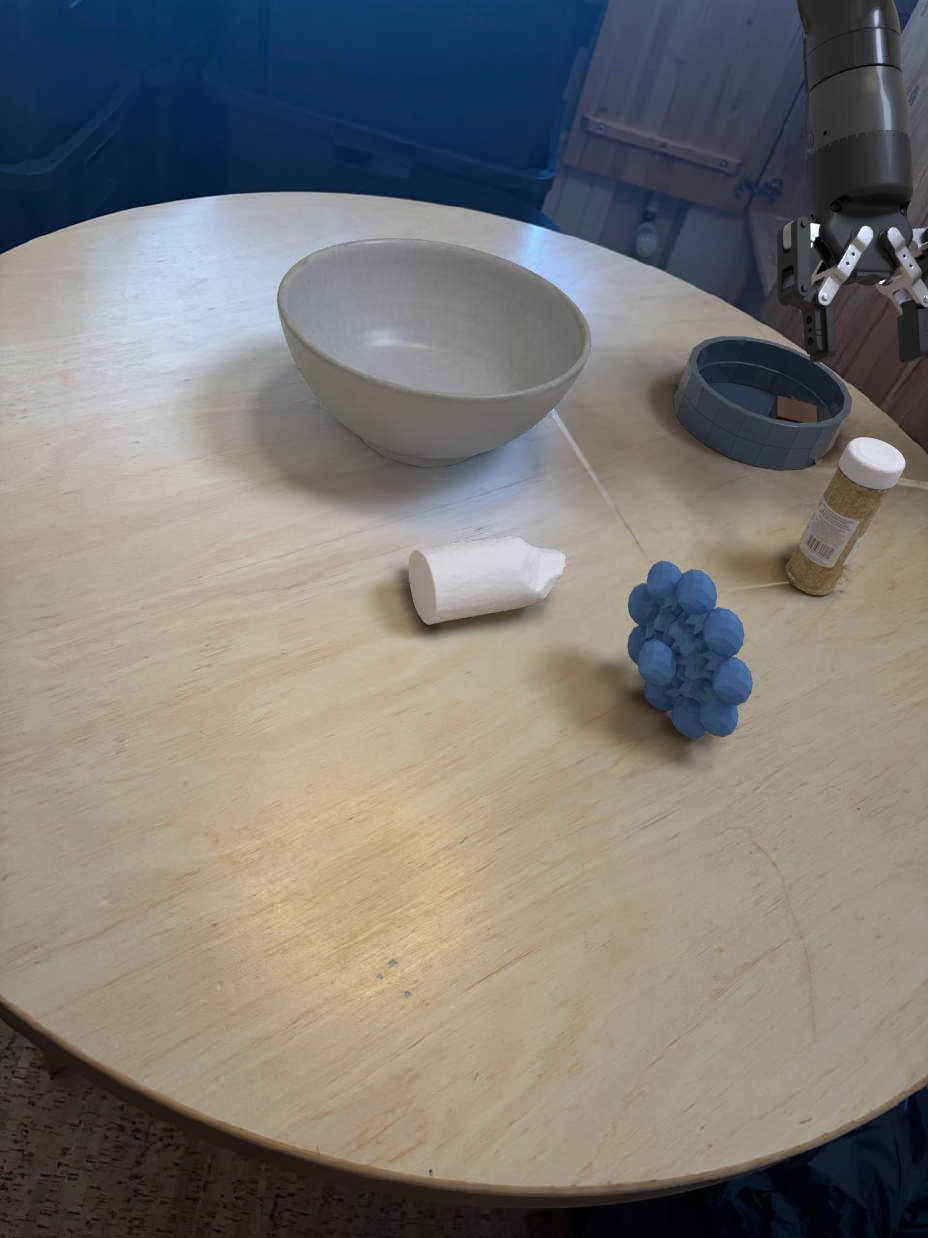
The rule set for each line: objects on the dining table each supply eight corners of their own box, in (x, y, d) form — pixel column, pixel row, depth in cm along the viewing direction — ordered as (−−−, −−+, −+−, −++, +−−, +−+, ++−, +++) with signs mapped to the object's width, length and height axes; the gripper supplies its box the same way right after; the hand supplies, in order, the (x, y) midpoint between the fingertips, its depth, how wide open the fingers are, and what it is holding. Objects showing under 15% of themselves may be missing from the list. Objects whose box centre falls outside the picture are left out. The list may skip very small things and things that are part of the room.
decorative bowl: (235, 368, 91) (233, 245, 83) (478, 339, 102) (499, 229, 94) (340, 546, 76) (352, 418, 67) (613, 489, 87) (652, 374, 78)
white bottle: (572, 616, 74) (591, 563, 70) (429, 640, 70) (440, 585, 66) (542, 565, 78) (557, 512, 74) (404, 585, 74) (412, 530, 70)
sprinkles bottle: (844, 591, 82) (920, 465, 72) (804, 602, 80) (876, 474, 71) (810, 556, 85) (879, 430, 75) (771, 566, 83) (836, 438, 73)
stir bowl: (808, 394, 106) (829, 350, 102) (845, 485, 94) (871, 438, 90) (664, 370, 104) (680, 324, 100) (682, 459, 92) (701, 411, 89)
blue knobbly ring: (565, 669, 70) (608, 548, 62) (633, 642, 73) (683, 523, 65) (667, 788, 64) (730, 671, 56) (737, 752, 67) (806, 636, 59)
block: (800, 438, 98) (816, 405, 95) (800, 459, 95) (817, 426, 92) (762, 428, 98) (777, 394, 95) (761, 448, 95) (777, 415, 92)
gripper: (810, 118, 68) (824, 347, 68) (969, 132, 72) (980, 348, 73) (749, 165, 75) (762, 372, 75) (896, 175, 79) (907, 371, 80)
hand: (869, 360), depth 74 cm, fingers open, 8 cm apart
